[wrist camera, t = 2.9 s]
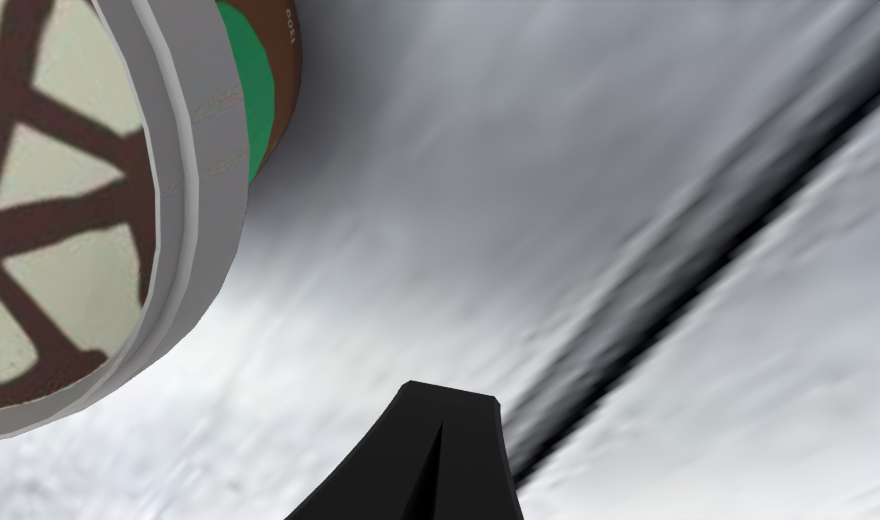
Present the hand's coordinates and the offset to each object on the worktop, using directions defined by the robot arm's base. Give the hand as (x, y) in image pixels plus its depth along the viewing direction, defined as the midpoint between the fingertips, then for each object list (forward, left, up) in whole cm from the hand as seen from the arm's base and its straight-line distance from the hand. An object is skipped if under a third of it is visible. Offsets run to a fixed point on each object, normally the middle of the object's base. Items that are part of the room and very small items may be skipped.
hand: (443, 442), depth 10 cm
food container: (+8, 0, -10) cm, 13 cm away
